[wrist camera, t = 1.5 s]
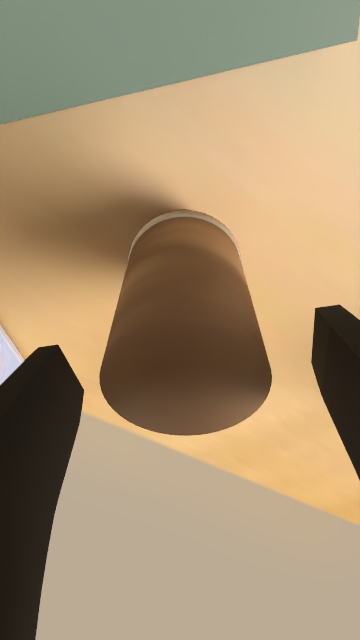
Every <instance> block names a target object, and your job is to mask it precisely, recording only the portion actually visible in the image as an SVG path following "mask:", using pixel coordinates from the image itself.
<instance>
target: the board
mask: <svg viewBox="0 0 360 640" xmlns="http://www.w3.org/2000/svg"><path fill="white" fill-rule="evenodd" d="M359 17H360V0H0V124H4V123H8V122H13V121H17V120H21V119H25V118H29V117H34V116H38V115H42V114H46V113H51V112H55V111H59V110H63V109H68V108H72V107H76V106H80V105H85V104H89V103H93V102H97V101H102V100H106V99H110V98H114V97H119V96H123V95H127V94H131V93H135V92H140V91H144V90H148V89H152V88H157V87H161V86H165V85H169V84H174V83H178V82H182V81H186V80H191V79H195V78H199V77H203V76H208V75H212V74H216V73H220V72H225V71H229V70H233V69H237V68H242V67H246V66H250V65H254V64H258V63H263V62H267V61H271V60H275V59H280V58H284V57H288V56H292V55H297V54H301V53H305V52H309V51H314V50H318V49H322V48H326V47H331V46H335V45H339V44H343V43H348V42H352V41H356V40H357V37H358V27H359Z"/></svg>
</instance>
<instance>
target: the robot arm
mask: <svg viewBox="0 0 360 640" xmlns="http://www.w3.org/2000/svg"><path fill="white" fill-rule="evenodd" d="M311 363H312V366H313V369H314V373H315V376H316V379H317V382H318V386H319V389H320V392H321V395H322V397H323V400H324V402H325V404H326V406H327V409H328V411H329V413H330V415H331V418H332V420H333V422H334V424H335V427H336V429H337V431H338V433H339V435H340V437H341V440H342V442H343V444H344V446H345V448H346V451H347V453H348V455H349V457H350V459H351V462H352V464H353V466H354V468H355V470H356V473H357V475H358V477H359V480H360V320H359V319H358V318H356V317H355V316H354V315H352V314H351V313H350V312H349V311H347V310H346V309H345V308H343V307H342V306H341V305H334V306H327V307H320V308H315V319H314V333H313V347H312V361H311ZM83 395H84V389H83V387H82V386H81V384H80V382H79V380H78V379H77V377H76V375H75V373H74V372H73V370H72V368H71V366H70V365H69V363H68V361H67V359H66V358H65V356H64V354H63V352H62V351H61V349H60V347H59V345H52V346H45V347H39V348H37V349H36V350H35V351H34V352H33V353H32V354H31V355H30V356H29V357H28V358H27V359H26V360H24V359H23V357H22V356H21V354H20V353H19V351H18V350H17V349H16V347H15V346H14V344H13V343H12V341H11V340H10V338H9V337H8V335H7V334H6V332H5V331H4V329H3V328H2V326H1V325H0V640H35V636H36V629H37V621H38V613H39V605H40V597H41V590H42V584H43V577H44V571H45V564H46V558H47V552H48V546H49V541H50V535H51V529H52V524H53V519H54V514H55V510H56V505H57V501H58V498H59V494H60V490H61V487H62V483H63V480H64V477H65V473H66V469H67V466H68V463H69V459H70V455H71V452H72V448H73V445H74V441H75V438H76V434H77V430H78V426H79V423H80V416H81V410H82V403H83Z"/></svg>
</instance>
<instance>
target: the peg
mask: <svg viewBox="0 0 360 640" xmlns="http://www.w3.org/2000/svg"><path fill="white" fill-rule="evenodd" d="M271 382H272V374H271V368H270V364H269V361H268V357H267V354H266V350H265V346H264V343H263V339H262V336H261V332H260V328H259V325H258V321H257V318H256V314H255V311H254V307H253V303H252V300H251V296H250V293H249V289H248V285H247V282H246V278H245V275H244V271H243V267H242V264H241V256H240V252H239V248H238V245H237V242H236V240H235V238H234V236H233V235H232V233H231V232H230V231H229V230H228V228H227V227H226V226H225V225H224V224H222V223H221V222H220V221H219V220H217V219H215V218H213V217H212V216H209V215H207V214H205V213H201V212H197V211H191V210H178V211H172V212H168V213H165V214H162V215H160V216H158V217H156V218H154V219H152V220H151V221H149V222H148V223H147V224H146V225H145V226H144V227H143V228H142V229H141V230H140V231H139V232H138V234H137V235H136V236H135V238H134V240H133V242H132V245H131V248H130V252H129V256H128V262H127V269H126V272H125V276H124V280H123V284H122V288H121V292H120V296H119V300H118V304H117V307H116V311H115V315H114V319H113V323H112V327H111V331H110V335H109V338H108V342H107V346H106V350H105V354H104V358H103V362H102V366H101V370H100V386H101V391H102V393H103V395H104V398H105V399H106V401H107V402H108V404H109V405H110V406H111V407H112V409H113V410H114V411H115V412H117V413H118V414H119V415H120V416H121V417H123V418H124V419H126V420H127V421H129V422H131V423H133V424H135V425H137V426H139V427H142V428H144V429H147V430H150V431H154V432H158V433H163V434H169V435H201V434H208V433H213V432H217V431H220V430H224V429H227V428H229V427H232V426H234V425H236V424H238V423H240V422H242V421H243V420H245V419H246V418H248V417H250V416H251V415H252V414H253V413H254V412H256V411H257V410H258V408H259V407H260V406H261V405H262V404H263V402H264V401H265V399H266V398H267V396H268V393H269V391H270V387H271Z"/></svg>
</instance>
